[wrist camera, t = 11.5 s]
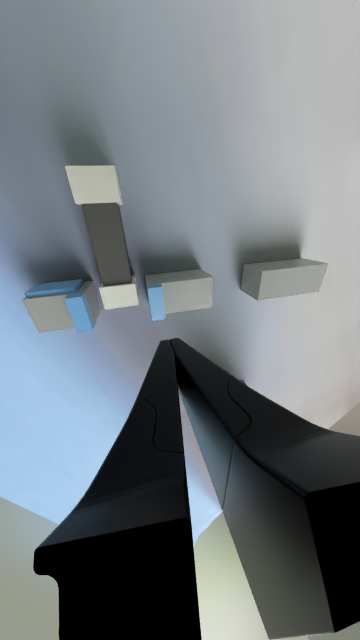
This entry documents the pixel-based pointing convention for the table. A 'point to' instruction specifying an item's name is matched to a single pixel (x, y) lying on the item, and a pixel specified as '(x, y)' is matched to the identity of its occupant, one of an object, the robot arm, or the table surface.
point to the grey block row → (168, 292)
